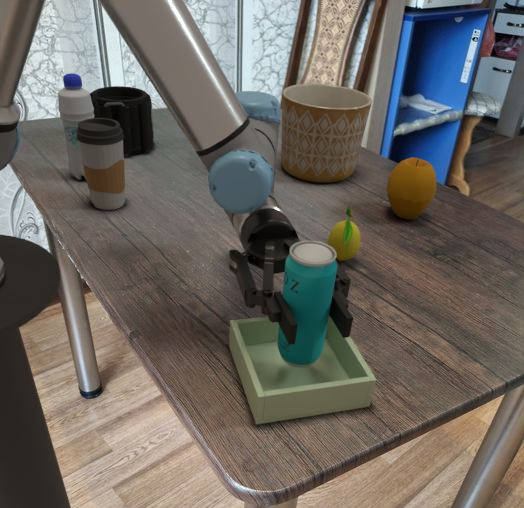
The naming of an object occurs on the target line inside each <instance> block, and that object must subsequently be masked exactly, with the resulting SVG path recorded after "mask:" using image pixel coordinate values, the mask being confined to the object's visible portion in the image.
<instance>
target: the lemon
mask: <svg viewBox="0 0 524 508" xmlns="http://www.w3.org/2000/svg"><path fill="white" fill-rule="evenodd" d="M351 212H352V207H350V205H349V206H348V207H347V208H346V211H345V214H346V216H348V217H347V219H345V220H341V221H339V222H337V223H335V224H334V225H333V227H332V228H331V231H330V232H329V234H328V238H327V245H329V246H331V247H332V248H333V249H334V250H335V251H336V254H337V257H336V260H338V261H339V262H343V261H348V260H352V259H353V258H355V257H356V255H357V254H358V252H359V250H360V247H361V243H362V242H361V241H362V238H361V231H360V229H359V227H358V225H356V223H355V222H353V221H351V220H350V218H354V216H353V215H352V214H351Z"/></svg>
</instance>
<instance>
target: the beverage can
mask: <svg viewBox="0 0 524 508" xmlns="http://www.w3.org/2000/svg"><path fill="white" fill-rule="evenodd" d="M300 241H301V242H297V243H295V244H293V245H292V246H291V248H290V250H289V253H290V254H289V256H288V257H287V259H286V263H285V272H283V273H284V274H283V283H282V292H281V293H282V295H283V297H284V299H285V301H286V303H287V305H288V307H289V309H290V311H291V313H292V314H293V316H294V318H295V320H296V322H297V324H298V326H297V334H296V341H295V344H291V345H289V344H288V342H287V340H286V338H285V336H284V334H283V332H282V330H281V328H280V325H279V333H278V342H277V345H278V349H279V352H280V355H281V357H282V359H283V360H284V361H285V362H286V363H287V364H289V365H291V366H293V367H298V368H303V367H308V366H310V365H312V364H314V363H315V362H316V361H317V359H318V358H319V356H320V355H321V353H322V351H323V347H324V342H325V336H326V330H327V324H328V319H329V313H330V307H331V301H332V296H333V290H334V284H335V278H336V273H337V263H338V262H337V258H336V257H337V254H336V251H335V250H334V249H333V248H332V247H331V246H329V245H328V243H325V242H323V241H318V240H300ZM336 262H337V263H336Z"/></svg>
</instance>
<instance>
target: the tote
mask: <svg viewBox="0 0 524 508" xmlns="http://www.w3.org/2000/svg"><path fill="white" fill-rule="evenodd" d="M278 333H279V323H278V322H274V323H272V322H271V321H270V320H269V318H268V316H267V315H266V316H259V317H258V316H257V317H251V318H240V319H232V320H231V319H230V320H229V341H228V343H229V344H228V345H229V346H228V348H229V351H230V353H231V356H232V360H233V362H234V365H235V368H236V371H237V374H238V377H239V379H240V382H241V386H242V388H243V391H244V394H245V397H246V400H247V403H248V406H249V408H250V411H251V414H252V417H253V421H254V423H255V425H264V424H269V423H275V422H276V423H277V422H282V421H288V420H294V419H299V418H307V417H313V416H314V417H315V416H319V415H326V414H333V413H338V412H344V411H351V410H357V409H363V408H370V406H371V402H372V399H373V395H374V391H375V389H376V384H377V381H378V379H377V378H376V376H375V375H374V373H373V372H372V370H371V368H370V366H369V365H368V363H367V362H366V360H365V358H364V357H363V355H362V353H361V352H360V350H359V349H358V347H357V345H356V344H355V342H354V341H353V339H352V337H351V335H350V336H349V337H346V338H343V337H342V335H341V334H340V332H339V330H338V329H337V327H336V325H335V324H334V322H333V320H332V319H331V317H330V315H329V319H328V324H327V330H326V336H325V342H324V347H323V351H322V353H321V355H320V356H319V358H318V359H317V361H316V362H315V363H314V364H312V365H310V366H308V367H303V368H298V367H293V366H291V365H289V364H287V363H286V362H285V361H284V360H283V359H282V357H281V355H280V352H279V349H278V345H277V342H278Z"/></svg>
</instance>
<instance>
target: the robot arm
mask: <svg viewBox="0 0 524 508" xmlns="http://www.w3.org/2000/svg"><path fill="white" fill-rule="evenodd" d="M98 2H99V4H100V5H101V7H102V8H103V10H104V11H105V13H106V15H107V16H108V18H109V19H110V21H111V22H112V24H113V26H114V27H115V29H116V30H117V32H118V34H119V35H120V36H121V38H122V40H123V41H124V42H125V44H126V46H127V47H128V49H129V51H130V52H131V54H132V55H133V57H134V58H135V60H136V62H138V64H139V66H140V68H141V69H142V71H143V72H144V74H145V75H146V78H147V79H148V80H149V81H150V83H151V85H152V86H153V88H154V89H155V91H156V92H157V94H158V95H159V97H160V98H161V100H162V102H163V103H164V105H165V106H166V107H167V109H168V111H169V113H170V115H172V117H173V119H174V120H175V122H176V123H177V125H178V126H179V128H180V130H181V131H182V133H183V134H184V136H185V137H186V139H187V140H188V142H189V144H190V145H191V147H192V148H193V150H194V151H195V153H196V154H197V156H198V158H199V159H200V161H201V162H202V164H203V166H204V167H205V169H206V171H207V172H208V177H207V181H208V188H209V192H210V195H211V197H212V199H213V200H214V202H215V203H216V204H217V205H218V206H219V207H220V208H222V209H223V211H224V213H225V214H226V216H227V217H228V219H229V221H230V223H231V225H232V227H233V229H234V232H235V233H236V236H237V238H238V240H239V243H241V246H242V248H243V250H244V252H241V251H239V250H238V249H234V248H233V249H230V250H229V253H228V254H229V255H228V256H229V257H228V269H229V270H230V272H232V273H234V275H235V276H236V279H237V282H238V286H239V290H240V292H241V295H242V298H243V301H244V305H245V307H246V308H249V309H254V308H256V307H257V306H259V307H261V309H260V312H261V314H262V315H264V316H266V317H267V316H268V318H269V320H270V321H271V322H272V323H274V322H278V323H279V325H280V328H281V330H282V332H283V334H284V336H285V338H286V340H287V342H288V344H289V345H291V344H295V341H296V334H297V326H298V324H297V322H296V320H295V318H294V316H293V314H292V313H291V311H290V309H289V307H288V305H287V303H286V301H285V299H284V297H283V295H282V293H283V292H282V291H281V290H279V291H278V290H277V291H274V275H275V274H276V275H278V274H281V273H285V263H286V259H287V257H288V256H289V254H290V253H289V250H290V248H291V246H292V245H293V244H295V243H297V242H301V241H302V240H300V239H299V234H298V232H297V230H296V228H295V227H294V225H293V224H292V222H291V221H290V219H289V218H288V216H287V214H286V213H285V211H284V210H283V208H282V207H281V205H280V204H279V203H278V201H277V199H276V197H275V195H274V194H275V192H274V191H275V182H276V164H277V156H278V145H279V135H280V133H279V132H280V125H281V119H280V117H281V115H280V114H281V113H280V112H281V103H280V101H279V99H278V98H277V97H276V96H274V95H273V94H270V93H267V92H262V91H257V90H256V91H255V90H243V91H236V92H235V90H234V88H233V86H232V85H231V83H230V81H229V80H228V78H227V76H226V73H225V72H224V70H223V69H222V67H221V65H220V64H219V62H218V60H217V58H216V56H215V55H214V53H213V51H212V49H211V47H210V45H209V44H208V42H207V40H206V38H205V37H204V35H203V33H202V31H201V30H200V28H199V26H198V24H197V23H196V20H195V19H194V17H193V16H192V14H191V12H190V9H189V8H188V6H187V5H186V3H185V1H184V0H98ZM46 3H47V0H0V172H1V171H2V170H4V169H5V168H7V166H8V165H9V164H10V163H11V162H12V161H13V159H14V157H15V155H16V154H17V152H18V150H19V147H20V143H21V129H20V124H19V122H20V119H21V114H22V113H21V112H22V111H21V108H20V106H19V104H18V102H17V101H16V98H15V96H16V93H17V90H18V87H19V84H20V81H21V78H22V75H23V72H24V69H25V65H26V64H27V60H28V57H29V54H30V51H31V47H32V45H33V42H34V39H35V35H36V32H37V29H38V26H39V23H40V20H41V17H42V15H43V12H44V8H45V5H46ZM336 263H337V273H336V278H335V284H334V290H333V296H332V301H331V307H330V313H329V315H330V317H331V319H332V320H333V322H334V324H335V325H336V327H337V329H338V330H339V332H340V334H341V335H342V337H343V338H346V337H349V336H350V337H351V331H352V326H353V322H354V317H353V315H352V313H351V312H350V311H349V306H350V302H349V300H348V299H347V298H348V297H349V292H350V287H351V282H352V279H351V278H350V276H349V275H348V274H347V273H346V272H345V271H344V269H343V268H342V267H341V265H340V264H339V263H338V262H337V261H336ZM249 264H250V265H252V266H254V267H256V268H257V269H260V270H262V289H257V288H258V287H257V285H256V282H255V279H254V276H253V274H252V272H251V271H252V270H251V268H250V266H249ZM5 280H6V270H5V267H4V262H3V261H2V259H1V258H0V288H1V287H2V285H3V284H4V282H5Z"/></svg>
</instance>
